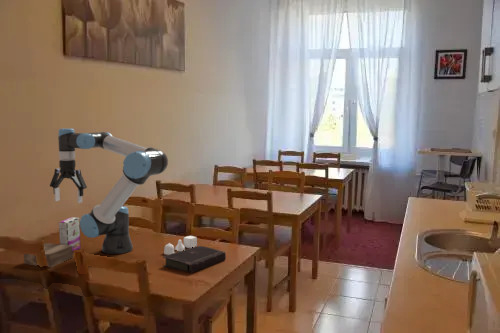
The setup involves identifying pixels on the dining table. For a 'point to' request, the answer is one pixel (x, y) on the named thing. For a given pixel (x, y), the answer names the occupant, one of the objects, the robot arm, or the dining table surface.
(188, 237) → the container set
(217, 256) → the diary
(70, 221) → the candy bar box
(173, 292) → the dining table surface
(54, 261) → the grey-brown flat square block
